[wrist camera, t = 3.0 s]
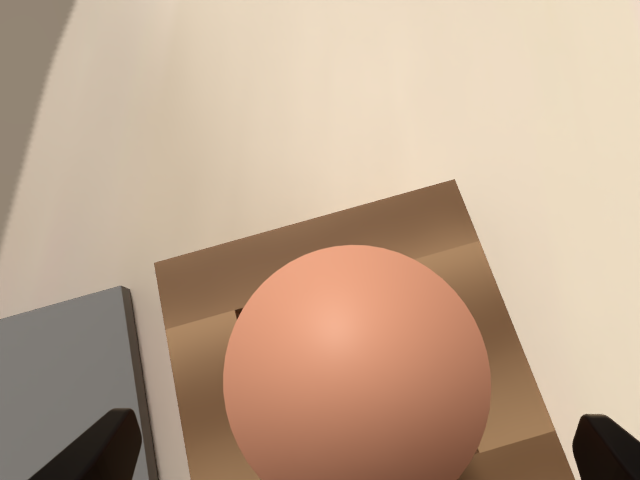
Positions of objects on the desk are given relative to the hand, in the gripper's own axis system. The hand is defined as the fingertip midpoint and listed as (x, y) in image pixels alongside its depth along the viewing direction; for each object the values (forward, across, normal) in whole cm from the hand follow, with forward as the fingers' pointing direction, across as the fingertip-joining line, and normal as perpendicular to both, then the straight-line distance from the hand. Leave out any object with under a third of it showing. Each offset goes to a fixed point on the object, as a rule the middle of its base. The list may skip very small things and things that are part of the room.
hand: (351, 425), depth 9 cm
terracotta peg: (+7, 0, +6) cm, 9 cm away
